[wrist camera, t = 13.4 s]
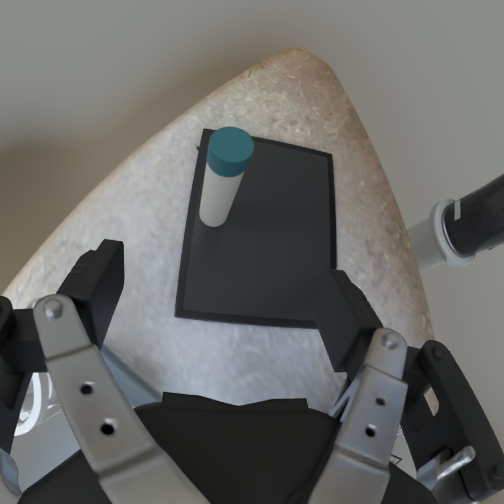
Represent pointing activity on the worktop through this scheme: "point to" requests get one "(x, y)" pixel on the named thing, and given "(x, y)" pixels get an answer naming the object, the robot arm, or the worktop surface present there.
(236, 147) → the teal capped white tube
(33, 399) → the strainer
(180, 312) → the tablet
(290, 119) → the worktop surface
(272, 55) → the worktop surface
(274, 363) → the worktop surface
